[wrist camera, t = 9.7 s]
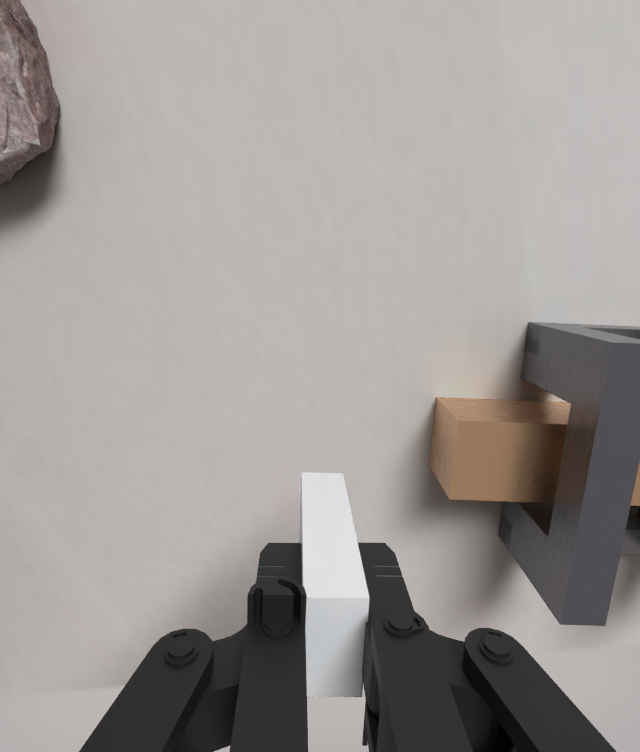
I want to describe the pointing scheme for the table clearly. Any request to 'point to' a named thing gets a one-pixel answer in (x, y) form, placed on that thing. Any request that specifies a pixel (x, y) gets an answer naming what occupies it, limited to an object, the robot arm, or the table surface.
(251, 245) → the table surface
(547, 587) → the grey open frame bracket
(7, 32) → the stone
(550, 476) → the block
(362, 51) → the table surface
